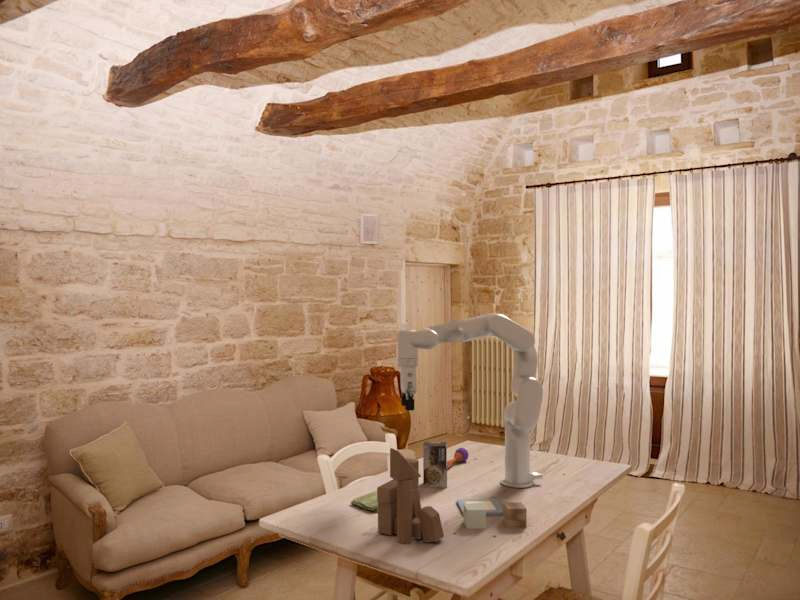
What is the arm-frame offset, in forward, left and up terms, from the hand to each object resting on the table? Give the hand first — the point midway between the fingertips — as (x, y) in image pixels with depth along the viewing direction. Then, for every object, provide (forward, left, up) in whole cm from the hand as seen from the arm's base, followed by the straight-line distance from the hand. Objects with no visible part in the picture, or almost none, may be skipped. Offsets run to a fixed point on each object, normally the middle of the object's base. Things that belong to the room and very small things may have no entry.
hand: (407, 407), depth 240 cm
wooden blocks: (+1, +44, -31) cm, 54 cm away
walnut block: (-31, +39, -31) cm, 59 cm away
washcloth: (+11, +16, -31) cm, 37 cm away
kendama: (-23, -31, -31) cm, 49 cm away
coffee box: (-11, -3, -31) cm, 33 cm away
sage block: (-18, +39, -31) cm, 53 cm away
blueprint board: (-23, +24, -30) cm, 45 cm away
